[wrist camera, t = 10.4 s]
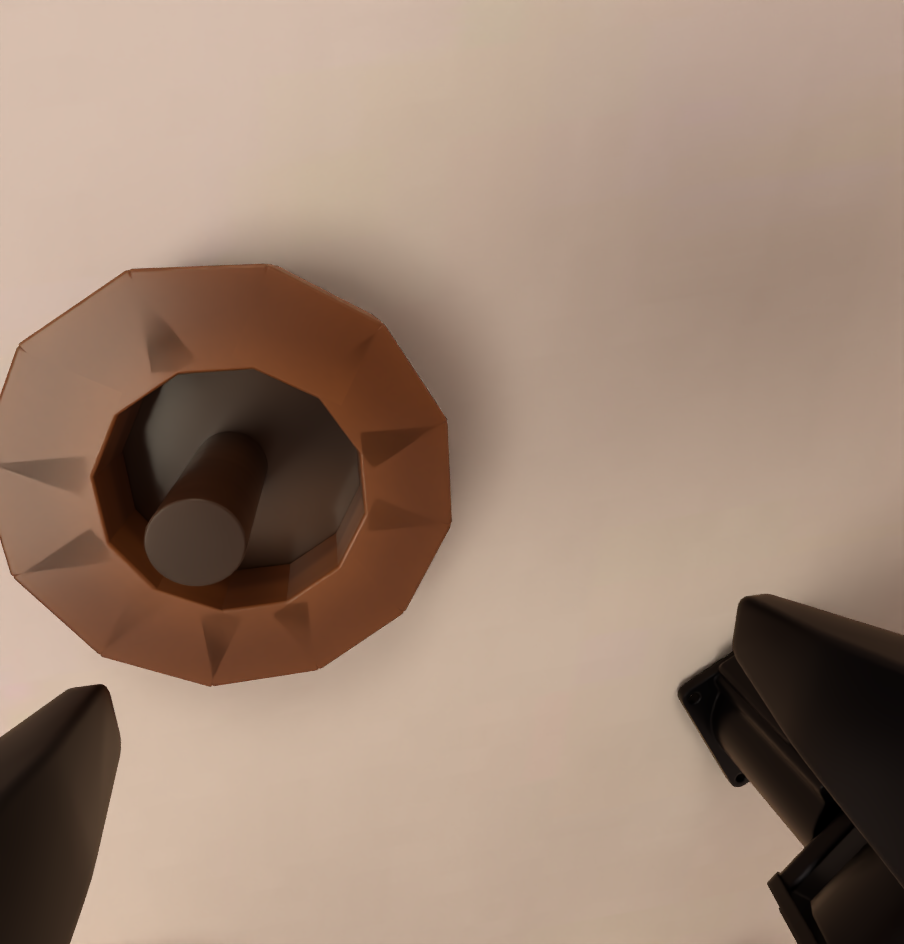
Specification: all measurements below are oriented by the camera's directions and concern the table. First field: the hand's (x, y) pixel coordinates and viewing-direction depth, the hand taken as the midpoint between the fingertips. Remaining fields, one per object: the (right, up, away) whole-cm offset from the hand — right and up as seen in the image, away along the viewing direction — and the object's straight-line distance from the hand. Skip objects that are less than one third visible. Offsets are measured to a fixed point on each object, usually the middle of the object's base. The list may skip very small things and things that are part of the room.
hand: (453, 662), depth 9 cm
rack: (-7, +3, +10) cm, 13 cm away
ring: (-6, +3, +9) cm, 11 cm away
